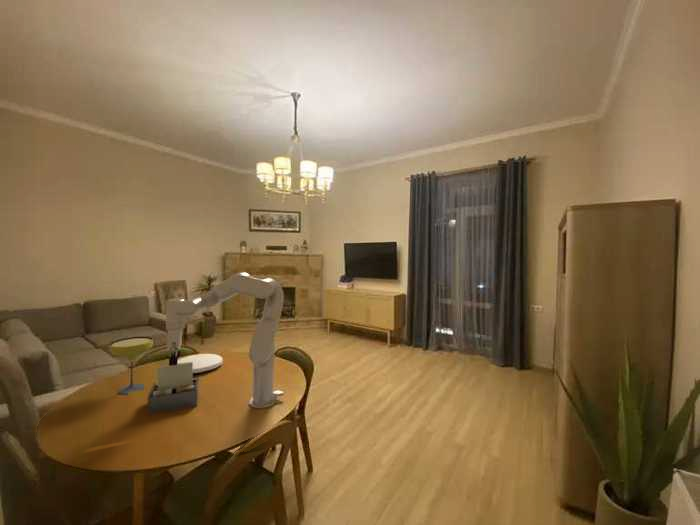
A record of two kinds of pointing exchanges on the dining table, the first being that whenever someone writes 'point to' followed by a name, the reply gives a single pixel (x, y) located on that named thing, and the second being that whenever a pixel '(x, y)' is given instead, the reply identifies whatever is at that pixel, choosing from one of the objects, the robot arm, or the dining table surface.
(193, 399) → the rack
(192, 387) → the walnut offcut
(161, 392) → the brown offcut
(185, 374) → the sage sheet
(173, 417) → the dining table surface
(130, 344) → the cocktail glass
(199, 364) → the plate
